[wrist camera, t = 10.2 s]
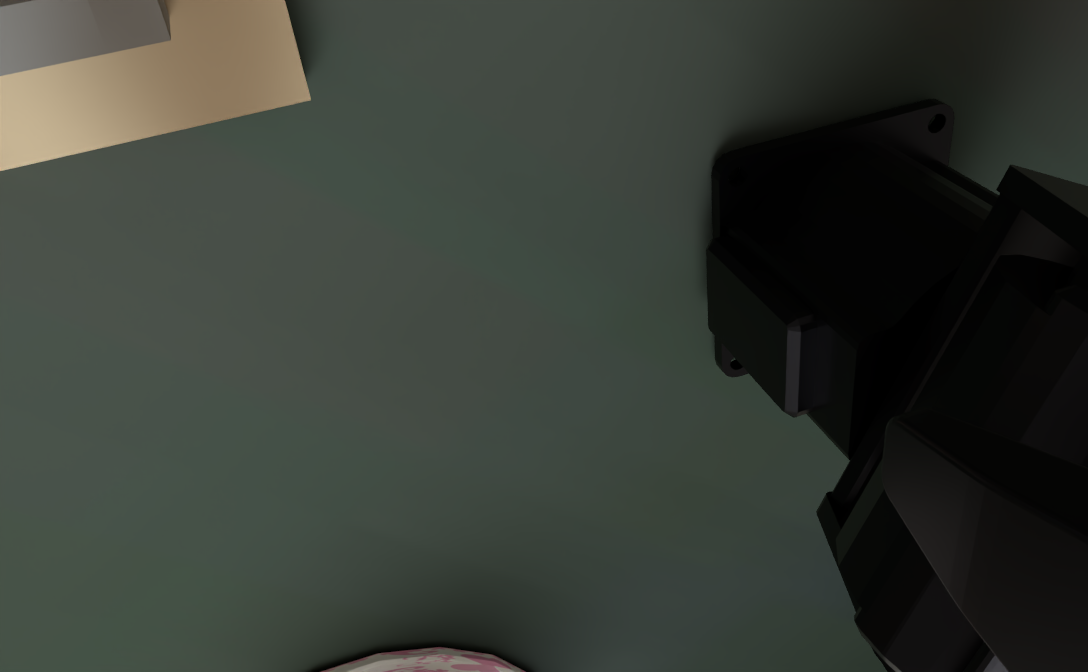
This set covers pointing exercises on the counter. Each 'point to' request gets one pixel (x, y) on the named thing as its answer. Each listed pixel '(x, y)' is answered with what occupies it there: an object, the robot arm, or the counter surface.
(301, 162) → the counter surface
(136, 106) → the holder
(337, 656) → the counter surface
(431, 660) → the teacup
